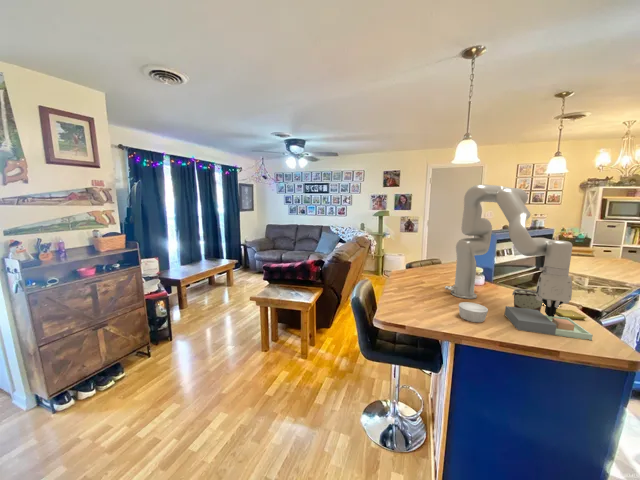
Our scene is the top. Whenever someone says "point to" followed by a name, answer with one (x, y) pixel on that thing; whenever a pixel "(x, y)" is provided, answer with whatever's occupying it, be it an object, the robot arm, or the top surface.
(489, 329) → the top surface
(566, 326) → the tile
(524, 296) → the food container
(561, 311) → the olive flat square tray
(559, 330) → the box
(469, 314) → the ramekin
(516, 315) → the ledge
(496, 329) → the top surface
